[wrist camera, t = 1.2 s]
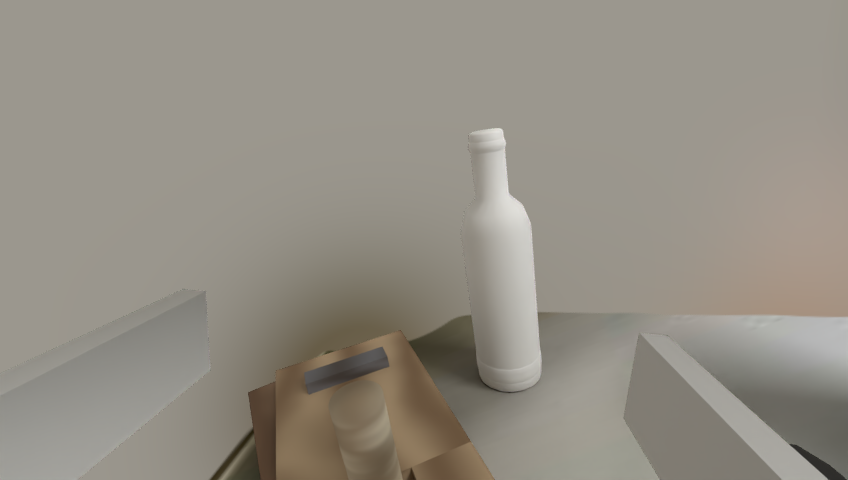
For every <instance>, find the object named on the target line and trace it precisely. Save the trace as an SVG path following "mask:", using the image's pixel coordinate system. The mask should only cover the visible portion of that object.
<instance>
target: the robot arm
mask: <svg viewBox="0 0 848 480" xmlns="http://www.w3.org/2000/svg"><path fill="white" fill-rule="evenodd" d="M206 305H207V304H206V292H205V291H197V290H186V289H182V290H180V291H178V292H176V293H174V294H171V295H169V296H167V297H165V298H163V299H161V300H158V301H156V302H154V303H152V304H150V305H147V306H145V307H143V308H141V309H139V310H137V311H134V312H132V313H130V314H128V315H126V316H124V317H121V318H119V319H117V320H115V321H113V322H111V323H108V324H107V325H104V326H102V327H100V328H98V329H95V330H93V331H91V332H89V333H87V334H85V335H82V336H80V337H78V338H76V339H74V340H71V341H69V342H67V343H65V344H63V345H61V346H58V347H56V348H54V349H52V350H50V351H48V352H45V353H43V354H41V355H39V356H37V357H34V358H32V359H30V360H28V361H26V362H24V363H22V364H19V365H17V366H15V367H13V368H11V369H8V370H6V371H4V372H2V373H0V480H78V479H79V478H81V477H82V476H83V475H84V474H86V473H87V472H88V471H89V470H90V469H92V468H93V467H94V466H95V465H96V464H98V463H99V462H100V461H101V460H103V459H104V458H105V457H106V456H107V455H108V454H110V453H111V452H112V451H113V450H115V449H116V448H117V447H118V446H119V445H121V444H122V443H123V442H124V441H125V440H127V439H128V438H129V437H130V436H132V435H133V434H134V433H135V432H136V431H138V430H139V429H140V428H141V427H142V426H144V425H145V424H146V423H147V422H149V421H150V420H151V419H152V418H153V417H155V416H156V415H157V414H158V413H160V412H161V411H162V410H163V409H164V408H165V407H167V406H168V405H169V404H170V403H172V402H173V401H174V400H175V399H177V398H178V397H179V396H180V395H181V394H183V393H184V392H185V391H186V390H187V389H189V388H190V387H191V386H192V385H194V384H195V383H196V382H197V381H198V380H200V379H201V378H202V377H203V376H204V375H206V374H207V373H208V372H209V371H210V356H209V355H210V354H209V337H208V321H207V306H206ZM624 420H625V421H626V423H627V425H628V427H629V428H630V430H631V432H632V433H633V435H634V437H635V438H636V440H637V442H638V443H639V445H640V447H641V448H642V450H643V452H644V454H645V455H646V457H647V459H648V460H649V462H650V464H651V465H652V467H653V469H654V470H655V472H656V474H657V475H658V477H659V479H660V480H846V479H845V478H844V477H843V476H842V475H841V474H839V473H838V472H837V471H836V470H835V469H834V468H832V467H831V466H830V465H828V464H827V463H825V462H823V461H822V460H820V459H819V458H817V457H815V456H814V455H812V454H810V453H809V452H807V451H805V450H804V449H802V448H801V447H799V446H797V445H792V444H788V443H787V442H786V441H785V440H784V439H782V438H781V437H780V436H779V435H778V434H777V433H776V432H775V431H774V430H772V429H771V428H770V427H769V426H768V425H767V424H766V423H765V422H764V421H762V420H761V419H760V418H759V417H758V416H757V415H756V414H755V413H753V412H752V411H751V410H750V409H749V408H748V407H747V406H746V405H745V404H743V403H742V402H741V401H740V400H739V399H738V398H737V397H736V396H734V395H733V394H732V393H731V392H730V391H729V390H728V389H727V388H726V387H724V386H723V385H722V384H721V383H720V382H719V381H718V380H717V379H716V378H714V377H713V376H712V375H711V374H710V373H709V372H708V371H707V370H705V369H704V368H703V367H702V366H701V365H700V364H699V363H698V362H697V361H695V360H694V359H693V358H692V357H691V356H690V355H689V354H688V353H686V352H685V351H684V350H683V349H682V348H681V347H680V346H679V345H678V344H676V343H675V342H674V341H673V340H672V339H671V338H670V337H669V336H668V335H658V334H648V333H639V336H638V341H637V347H636V352H635V358H634V364H633V369H632V375H631V380H630V386H629V391H628V397H627V402H626V408H625V413H624Z"/></svg>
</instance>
